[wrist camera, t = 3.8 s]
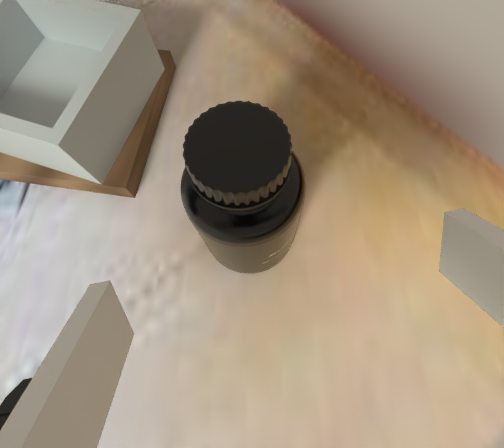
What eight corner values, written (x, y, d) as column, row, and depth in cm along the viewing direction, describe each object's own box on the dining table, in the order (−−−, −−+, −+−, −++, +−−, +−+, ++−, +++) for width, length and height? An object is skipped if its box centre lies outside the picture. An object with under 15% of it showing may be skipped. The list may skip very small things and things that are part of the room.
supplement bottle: (293, 277, 24) (315, 225, 12) (202, 272, 24) (142, 217, 13) (295, 193, 26) (315, 82, 14) (212, 189, 26) (169, 80, 15)
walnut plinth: (-10, 180, 28) (-35, 166, 26) (47, 60, 33) (30, 38, 31) (138, 200, 27) (125, 188, 25) (177, 72, 31) (169, 50, 29)
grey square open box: (-22, 145, 27) (-92, 100, 22) (51, 41, 30) (6, -20, 25) (102, 184, 25) (57, 145, 20) (164, 69, 28) (141, 9, 23)
